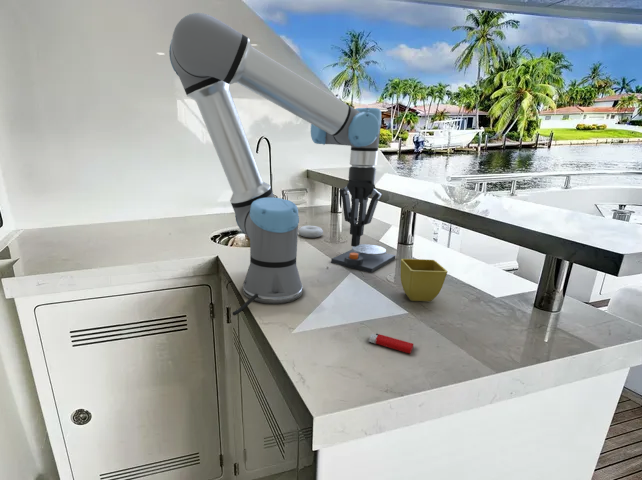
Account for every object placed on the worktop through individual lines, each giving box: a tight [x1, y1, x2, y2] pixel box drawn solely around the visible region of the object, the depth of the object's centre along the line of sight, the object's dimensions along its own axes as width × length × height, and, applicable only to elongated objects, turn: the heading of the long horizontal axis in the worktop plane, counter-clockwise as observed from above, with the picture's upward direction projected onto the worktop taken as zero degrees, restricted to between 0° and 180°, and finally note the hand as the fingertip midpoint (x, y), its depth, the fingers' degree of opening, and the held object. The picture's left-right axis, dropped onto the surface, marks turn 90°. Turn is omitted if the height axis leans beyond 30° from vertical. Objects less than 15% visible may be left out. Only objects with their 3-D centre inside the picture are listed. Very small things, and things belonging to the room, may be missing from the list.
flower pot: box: [400, 258, 448, 302], centre depth 95 cm, size 9×9×9 cm
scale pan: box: [351, 243, 387, 255], centre depth 125 cm, size 11×11×1 cm
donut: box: [298, 225, 324, 239], centre depth 153 cm, size 10×3×10 cm
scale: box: [330, 249, 397, 274], centre depth 123 cm, size 19×14×3 cm
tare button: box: [349, 253, 358, 259], centre depth 118 cm, size 3×3×2 cm
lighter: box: [368, 333, 414, 355], centre depth 74 cm, size 3×1×8 cm
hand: (355, 245), depth 116 cm, fingers closed
